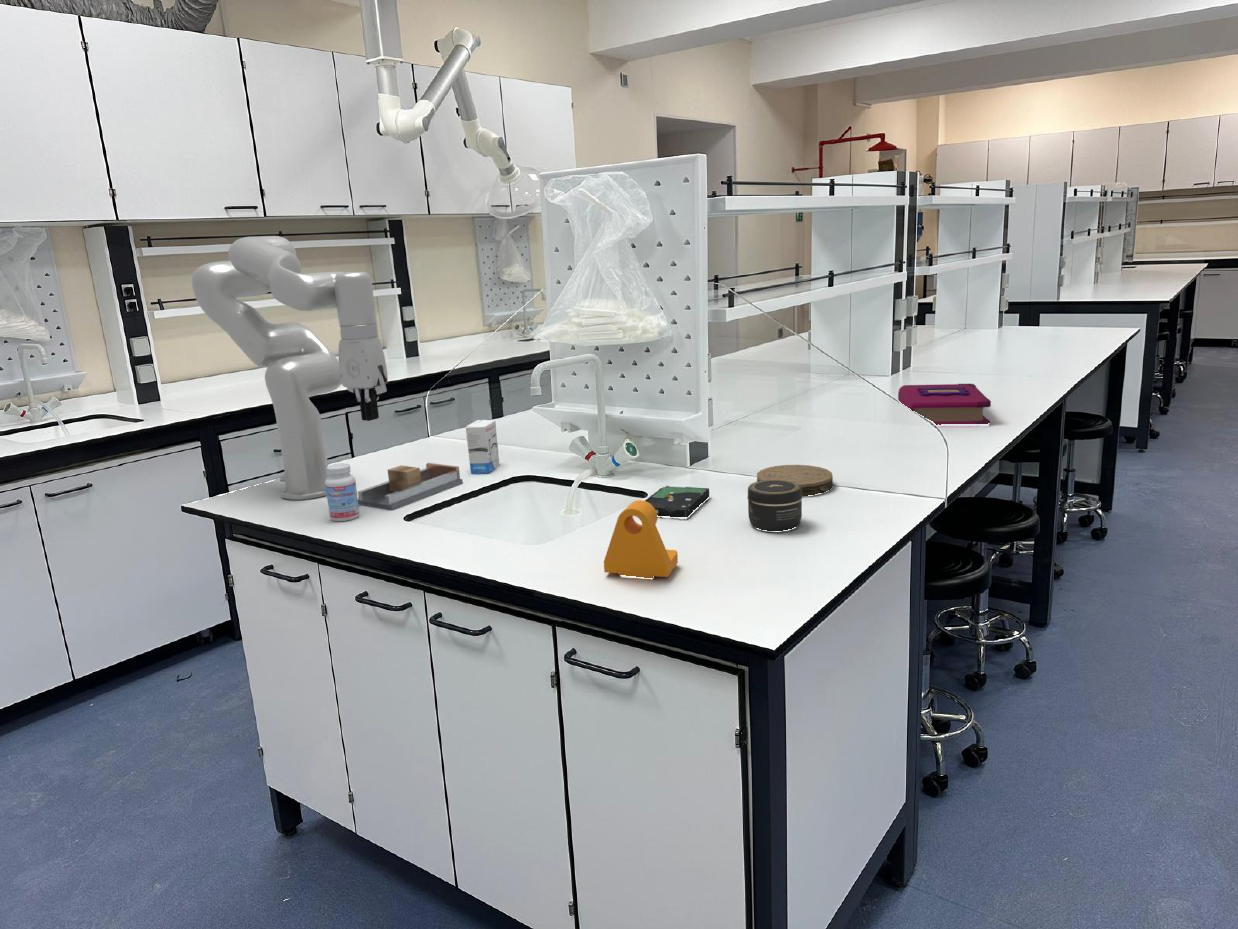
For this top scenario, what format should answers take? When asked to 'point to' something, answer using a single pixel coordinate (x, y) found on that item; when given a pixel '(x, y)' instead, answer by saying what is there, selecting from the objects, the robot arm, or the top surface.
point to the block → (403, 477)
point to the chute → (412, 488)
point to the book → (946, 403)
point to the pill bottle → (341, 493)
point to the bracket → (639, 545)
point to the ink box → (482, 446)
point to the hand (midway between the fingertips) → (370, 419)
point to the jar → (775, 504)
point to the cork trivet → (800, 477)
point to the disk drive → (677, 500)
